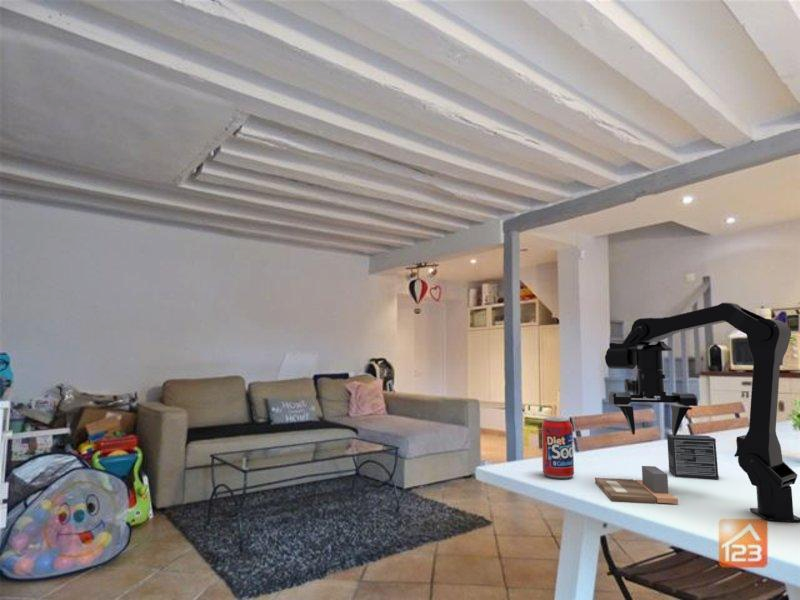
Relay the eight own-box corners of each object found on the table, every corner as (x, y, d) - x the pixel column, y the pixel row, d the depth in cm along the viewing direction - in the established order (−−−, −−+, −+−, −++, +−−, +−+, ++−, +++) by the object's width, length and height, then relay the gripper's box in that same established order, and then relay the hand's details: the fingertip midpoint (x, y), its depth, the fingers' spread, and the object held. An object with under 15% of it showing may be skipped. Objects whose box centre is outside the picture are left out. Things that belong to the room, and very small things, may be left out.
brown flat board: (655, 503, 107) (655, 497, 108) (612, 501, 109) (611, 495, 109) (633, 484, 123) (633, 479, 123) (595, 482, 124) (595, 477, 125)
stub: (678, 503, 107) (676, 478, 107) (657, 502, 107) (656, 477, 108) (652, 484, 122) (651, 462, 123) (634, 483, 123) (633, 462, 124)
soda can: (555, 471, 136) (553, 415, 138) (580, 477, 130) (578, 419, 131) (536, 475, 132) (535, 417, 133) (561, 481, 125) (560, 421, 127)
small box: (711, 474, 135) (708, 434, 136) (719, 480, 128) (717, 438, 129) (668, 471, 137) (666, 432, 139) (674, 477, 131) (672, 436, 132)
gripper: (679, 369, 128) (682, 431, 126) (602, 368, 131) (605, 429, 129) (696, 370, 117) (700, 438, 115) (612, 369, 120) (615, 435, 119)
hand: (653, 434), depth 120 cm, fingers open, 9 cm apart
